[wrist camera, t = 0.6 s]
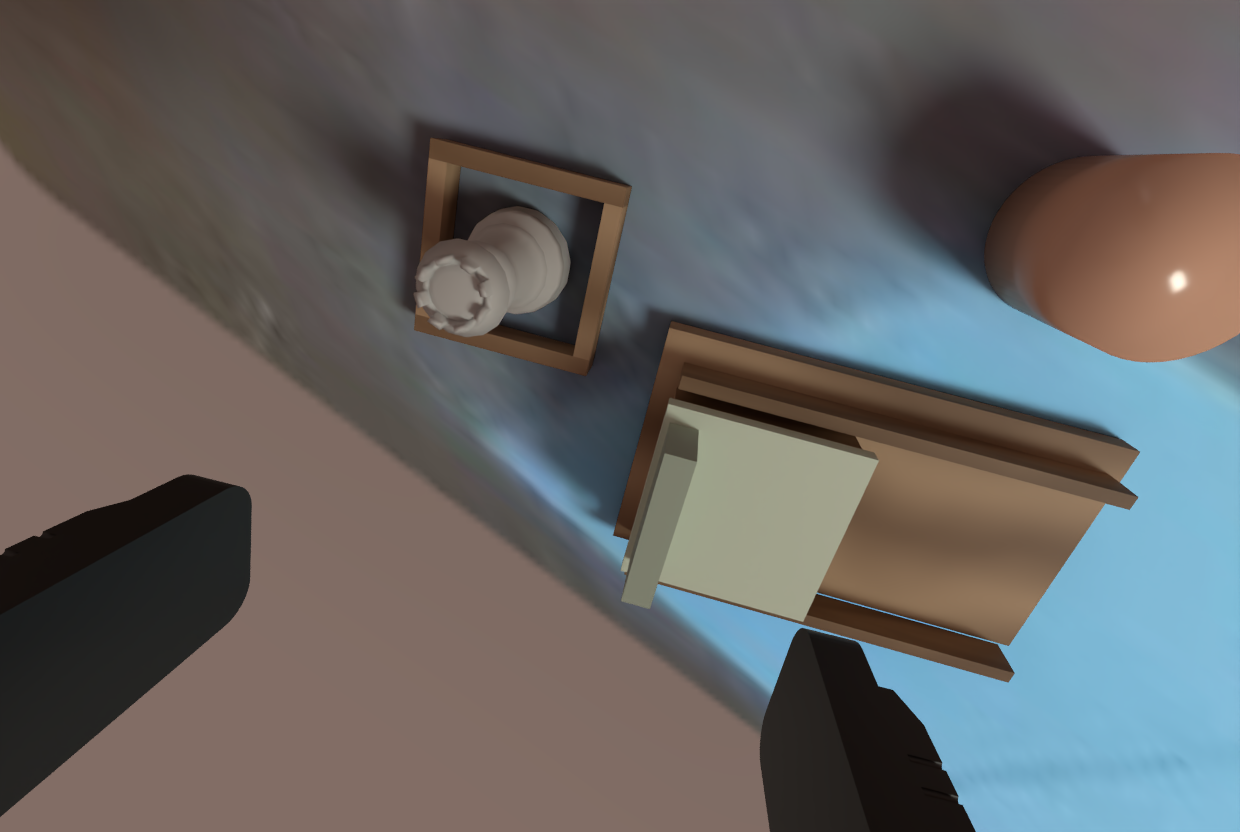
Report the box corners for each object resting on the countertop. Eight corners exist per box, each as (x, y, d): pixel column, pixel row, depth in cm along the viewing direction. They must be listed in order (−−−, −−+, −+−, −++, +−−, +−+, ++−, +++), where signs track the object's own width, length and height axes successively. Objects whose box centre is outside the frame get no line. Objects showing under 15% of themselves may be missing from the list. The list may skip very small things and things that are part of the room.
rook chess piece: (478, 306, 27) (393, 357, 20) (471, 203, 26) (374, 219, 18) (573, 311, 27) (521, 366, 19) (572, 207, 25) (515, 224, 18)
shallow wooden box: (671, 320, 26) (666, 339, 24) (1121, 439, 25) (1170, 472, 23) (613, 533, 31) (604, 568, 28) (991, 638, 30) (1018, 685, 28)
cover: (669, 397, 24) (663, 432, 21) (874, 452, 24) (899, 497, 21) (622, 561, 28) (611, 613, 24) (800, 611, 27) (812, 670, 24)
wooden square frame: (446, 139, 25) (430, 137, 23) (631, 186, 24) (627, 187, 23) (428, 321, 28) (414, 330, 27) (592, 365, 28) (585, 376, 26)
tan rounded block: (1031, 138, 22) (1137, 129, 16) (1194, 178, 22) (1359, 183, 16) (957, 295, 24) (1028, 334, 19) (1103, 333, 24) (1218, 383, 19)
